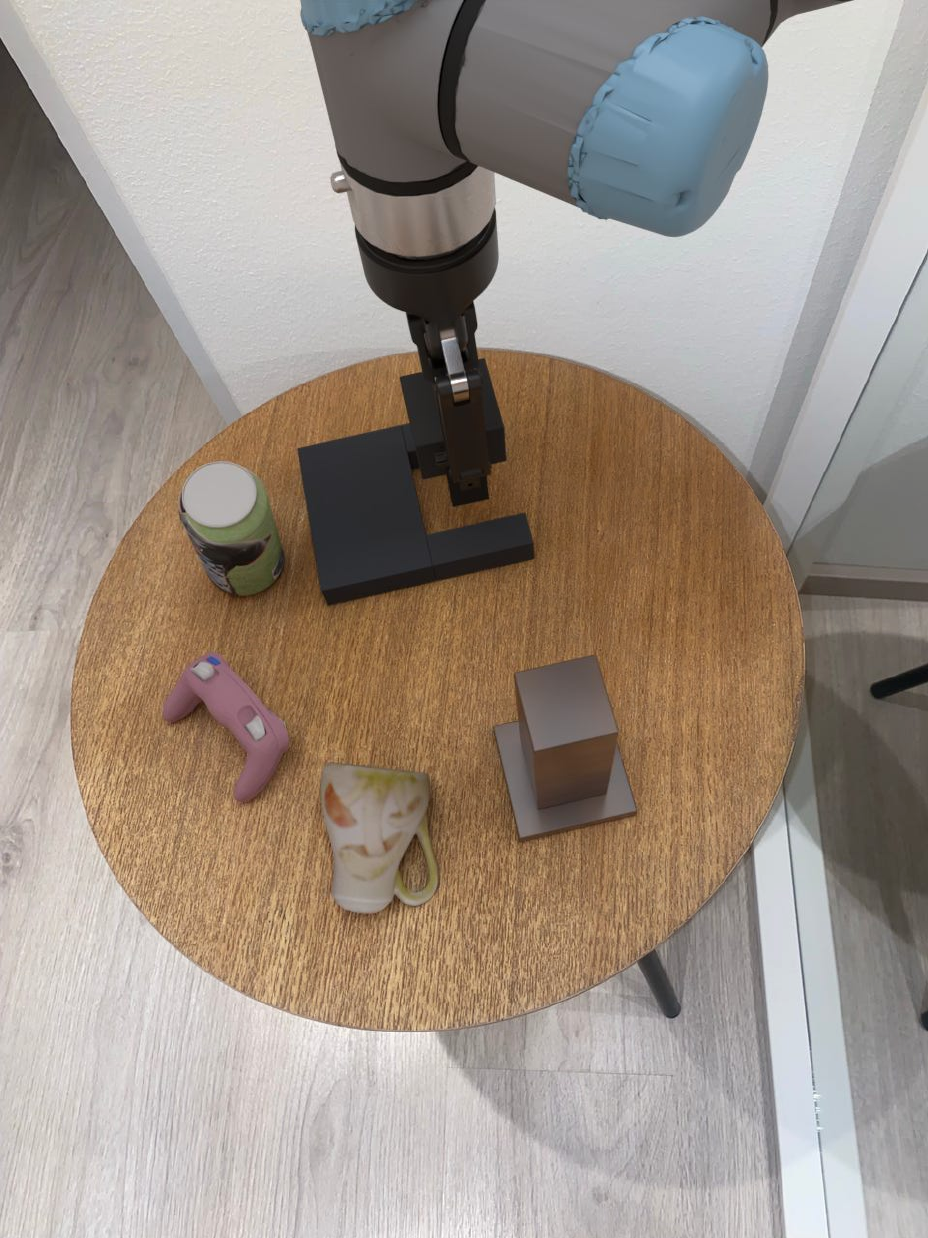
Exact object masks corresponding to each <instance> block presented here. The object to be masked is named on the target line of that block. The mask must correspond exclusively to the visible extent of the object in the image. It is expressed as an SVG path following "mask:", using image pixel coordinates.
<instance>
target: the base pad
mask: <svg viewBox="0 0 928 1238" xmlns="http://www.w3.org/2000/svg"><path fill="white" fill-rule="evenodd" d="M296 450H297V456H298V457H297V458H298V462H299V466H300V467H299V469H300V475H301V480H302V481H301V482H302V486H303V492H304V493H303V494H304V498H305V505H306V511H307V517H308V523H309V528H310V534H311V541H312V548H313V553H314V559H315V564H316V571H317V577H318V583H319V589H320V593H321V595H322V597H323V599H324V601H325V603H326V604H327V606H332V605H336V604H342V603H345V602H349V601H354V600H358V599H362V598H368V597H372V596H375V595H381V594H384V593H389V592H393V591H398V590H403V589H407V588H411V587H415V586H416V587H417V586H420V585H425V584H428V583H433V582H436V581H437V582H439V581H442V580H446V579H451V578H456V577H459V576H464V575H469V574H473V573H477V572H482V571H486V570H490V569H495V568H500V567H503V566H508V565H512V564H517V563H521V562H526V561H530V560H531V561H532V560H534V559H535V542H534V539H533V534H532V532H531V528H530V524H529V520H528V518H527V513H526V512H520V513H517V514H512V515H507V516H503V517H498V518H493V519H489V520H485V521H481V522H476V523H471V524H467V525H463V526H459V527H454V528H449V529H445V530H441V531H437V532H432V533H428V534H427V533H426V529H425V524H424V519H423V515H422V511H421V507H420V502H419V497H418V492H417V488H416V484H415V480H414V475H413V471H412V470H416V469H420V467H419V462H418V458H417V454H416V449H415V445H414V441H413V436H412V432H411V428H410V423H409V422H407V423H403V424H399V425H394V426H390V427H385V428H380V429H376V430H372V431H368V432H364V433H359V434H355V435H350V436H345V437H340V438H337V439H332V440H327V441H322V442H319V443H313V444H309V445H306V446H301V447H298V448H296Z"/></svg>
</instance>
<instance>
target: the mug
mask: <svg viewBox="0 0 928 1238" xmlns="http://www.w3.org/2000/svg"><path fill="white" fill-rule="evenodd" d="M430 796H431V779H430V773H428V772H421V771H414V770H405V769H399V768H398V769H397V768H391V767H383V766H371V765H364V764H363V765H362V764H353V763H342V762H341V763H340V762H328V763H326V764H325V765H324V766H323V767H322V772H321V777H320V782H319V799H320V806H321V811H322V815H323V819H324V823H325V826H326V830H327V834H328V838H329V841H330V846H331V849H332V856H333V870H332V871H333V876H332V883H331V890H330V894H331V897H332V898H333V899H334V902H336V905H338V906H339V907H340V908H342V909H344V910H346V911H348V912H352V913H357V914H377V913H379V912H381V911H382V910H384V909H386V907H387V906H389V904H390V903H391V902H392V901H393V900H394V899H393V898H394V896H396V897H397V898H398V899H399V900H400V901H401V902H402V903H403V904H404V905H407V906H409V907H418V906H421V905H423V904H425V903H427V902H428V901H429V900H430V899H432V897H433V896H434V895H435V893H436V891H437V888H438V885H439V877H440V876H439V865H438V861H437V857H436V855H435V851H434V848H433V843H432V840H431V835H430V832H429V831H430V830H429V813H428V811H427V809H428V806H429V801H430ZM414 835H416V836H417V838H418V841H419V844H420V847H421V849H422V852H423V855H424V859H425V862H426V866H427V872H428V877H427V883H426V885H425V886H424V887H423V888H422V889H421V890H418V891H413V890H409V889H408V888H407V887H406V886H405V884H404V880H403V876H402V873H401V870H400V869H399V868H400V867H399V866H400V863H401V861H402V859H403V857H404V855H405V853H406V851H407V849H408V847H409V846H410V844H411V842H412V840H413V839H414V838H413V837H414Z"/></svg>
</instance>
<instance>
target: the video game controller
mask: <svg viewBox="0 0 928 1238" xmlns="http://www.w3.org/2000/svg"><path fill="white" fill-rule="evenodd" d="M201 702H204V704H205V706H206V709H207V710H208V712H209V713H210V716H212V717H213V718H214V719H215V720H216V722H217V723H218V724H220V725H222V726H223V727H225V728H227V729H228V730H229V731H230V732H231V733H232V734H233V736H234V737H235V738H236V740H237V741H238V743H239V745H240V747H241V748H242V749H243V751H244V752H245V753H246V754H247V755H246V756H247V757H246V760H245V763H244V766H243V768H242V771H241V773H240V775H239V777H238V779H237V781H236V782H235V784H234V789H233V798H234V800H235V801H236V802H237V803H246V802H249V801H251V800H253V799H254V798H255V797H257V796H258V795H259V793H261V791H262V790H263V789H264V788H265V787H266V786H267V784H268V783H269V782H270V780H271V779H272V777H273V776H274V774H275V772H276V770H277V768H278V765H279V763H280V761H281V759H282V757H283V754H284V753H286V752H287V751H288V750H290V749H289V748H290V744H291V743H290V736H289V734H288V729H287V725H286V722H285V721H284V720H283V719H281V718H280V717H279V716H278V715H277V714H276V713H274V712H273V711H272V710H271V709H269V708H267V707H266V706H265V705H264V703H263V702H262V700H261V699H260V698H259V696H258V695H257V694H256V693H255V692H254V691H253V689H251V687H250V686H249V685H248V684H247V683H246V682H245V681H244V679H242V678H241V677H240V676H239V674H237V673H236V672H235V671H234V670H233V669H232V668H231V667H230V665H229V663H228V662H227V661H226V659H225V658H224V657H223V656H222V655H221V654H220V653H218V652H217V651H212V650H211V651H209V652H207V653H204V654H203V655H201V656H199V657H197V658H195V659H194V660H193V661H192V662H191V663H190V664H188V665H187V666H186V667H185V668H184V670H183V671H182V672H181V674H180V676H179V678H178V680H177V682H176V684H175V685H174V687H173V688H172V690H171V692H170V693H169V695H168V696H167V698H166V700H165V702H164V704H163V708H162V714H161V715H162V718H163V720H164V721H165V722H167V723H175V722H178V721H180V720H181V719H183V718H185V717H187V716H188V715H189V714H190V713H191V712H192V711H193V710H194V709H195V708H196V707H197V706H198V705H199V704H200V703H201Z"/></svg>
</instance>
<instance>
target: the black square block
mask: <svg viewBox="0 0 928 1238" xmlns="http://www.w3.org/2000/svg"><path fill="white" fill-rule="evenodd" d="M478 360H479V367H478V370H479V371H480V374H482V377H483V382H484V383H482V402H483V411H484V420H485V429H486V438H487V446H488V455H489V461H490V463H491V465H494V464H495V465H496V464H500V463H504V462H507V446H506V445H507V444H506V433H505V425H504V422H503V417H502V414H501V410H500V406H499V404H498V400H497V396H496V392H495V388H494V385H493V382H492V378H491V375H490V372H489V367H488V364H487V361H486V358H485V357H482V358H481V357H480V358H478ZM399 383H400V386H401V391H402V396H403V401H404V405H405V409H406V414H407V419H408V423H410V428H411V432H412V436H413V441H414V445H415V449H416V454H417V458H418V462H419V467H420V468H419V470H420V475H421V478H422V480H429V479H432V478H433V479H434V478H437V477H441V476H445V475H446V469H445V467H441V468H437V464H436V459H435V455H434V454H435V453H439V452H442V447H445V446H444V441H443V436H442V431H441V426H440V420H439V415H438V410H437V405H436V400H435V394H434V389H433V384H432V382H430V381H427V380H426V379H424V376H423V373H422V371H418V372H415V373H410V374H406V375H401V376H399ZM446 476H447V475H446Z"/></svg>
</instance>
